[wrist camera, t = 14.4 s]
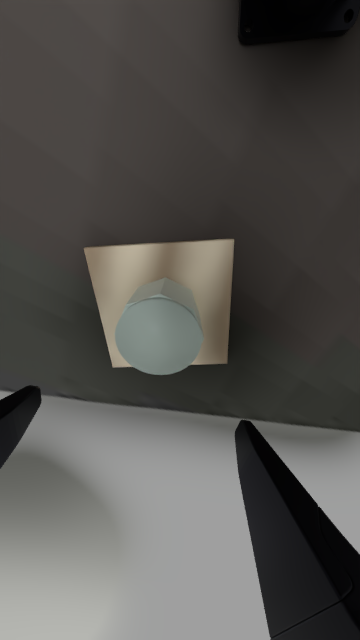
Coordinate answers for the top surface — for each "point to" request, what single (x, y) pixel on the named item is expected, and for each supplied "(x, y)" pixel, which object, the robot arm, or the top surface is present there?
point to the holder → (177, 265)
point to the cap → (160, 328)
